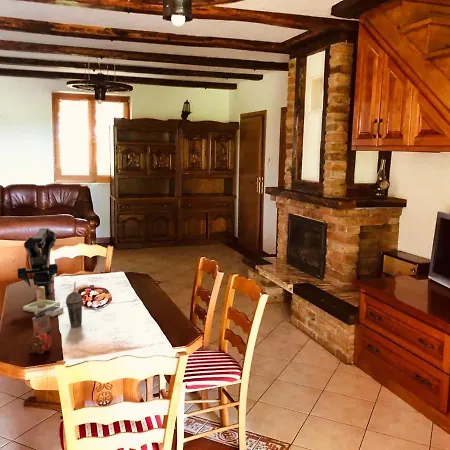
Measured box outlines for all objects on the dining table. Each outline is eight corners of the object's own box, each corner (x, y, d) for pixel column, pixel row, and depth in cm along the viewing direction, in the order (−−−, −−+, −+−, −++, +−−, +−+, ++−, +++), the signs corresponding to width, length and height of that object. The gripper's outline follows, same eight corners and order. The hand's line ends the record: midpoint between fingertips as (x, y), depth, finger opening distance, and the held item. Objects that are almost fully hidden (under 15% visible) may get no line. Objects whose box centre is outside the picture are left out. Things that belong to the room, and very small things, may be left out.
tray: (41, 302, 249) (41, 299, 248) (59, 305, 244) (59, 301, 244) (23, 310, 238) (23, 306, 238) (42, 313, 233) (41, 309, 233)
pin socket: (52, 310, 237) (52, 305, 237) (63, 312, 235) (63, 307, 234) (42, 314, 231) (41, 309, 231) (53, 316, 228) (52, 311, 228)
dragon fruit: (40, 362, 184) (39, 354, 195) (57, 346, 187) (56, 339, 198) (24, 347, 182) (24, 340, 193) (42, 330, 184) (41, 324, 196)
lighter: (37, 336, 205) (34, 313, 204) (31, 334, 207) (29, 312, 205) (52, 330, 212) (50, 308, 210) (47, 328, 214) (45, 306, 212)
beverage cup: (64, 327, 214) (60, 284, 211) (76, 322, 221) (72, 279, 217) (76, 330, 211) (72, 286, 208) (88, 324, 217) (85, 281, 214)
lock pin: (41, 305, 243) (40, 285, 242) (47, 306, 242) (46, 286, 240) (35, 307, 240) (34, 288, 238) (41, 308, 238) (40, 289, 237)
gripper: (15, 252, 235) (19, 279, 227) (55, 247, 244) (60, 274, 236) (15, 264, 244) (19, 291, 236) (54, 260, 252) (59, 285, 244)
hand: (40, 285), depth 238 cm, fingers open, 9 cm apart
